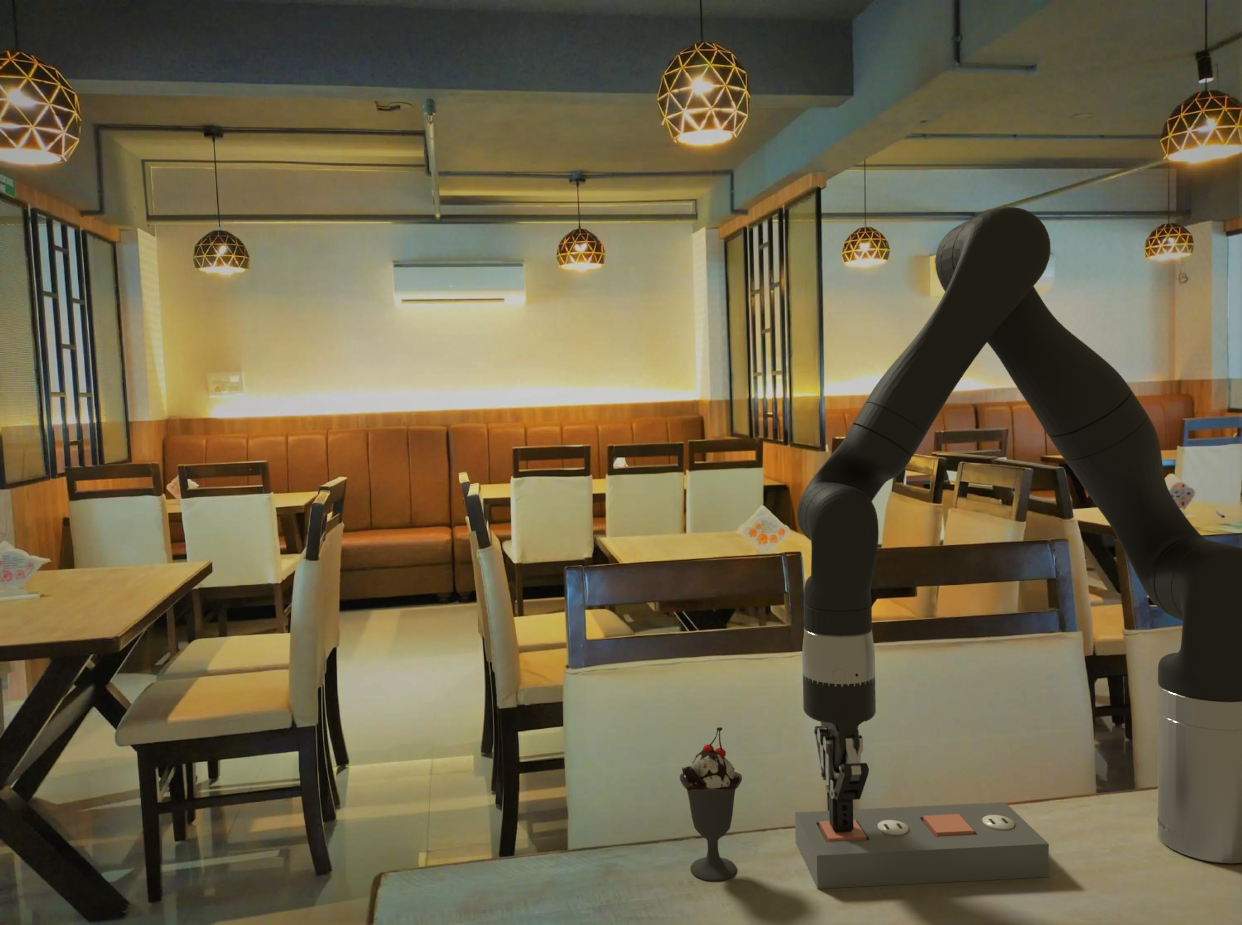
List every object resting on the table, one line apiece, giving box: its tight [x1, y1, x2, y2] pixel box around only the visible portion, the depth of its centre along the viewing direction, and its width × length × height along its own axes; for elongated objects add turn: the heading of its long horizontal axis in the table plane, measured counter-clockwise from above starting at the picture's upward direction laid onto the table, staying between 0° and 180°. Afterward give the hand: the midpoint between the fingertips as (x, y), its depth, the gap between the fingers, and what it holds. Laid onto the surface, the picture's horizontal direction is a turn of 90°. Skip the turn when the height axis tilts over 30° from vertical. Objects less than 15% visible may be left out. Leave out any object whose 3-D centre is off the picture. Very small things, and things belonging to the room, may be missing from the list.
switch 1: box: [819, 820, 866, 842], centre depth 99 cm, size 4×4×2 cm
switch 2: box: [923, 814, 974, 837], centre depth 99 cm, size 4×4×2 cm
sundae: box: [679, 726, 743, 882], centre depth 98 cm, size 7×7×15 cm
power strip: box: [794, 801, 1050, 890], centre depth 99 cm, size 24×10×4 cm, turn 92°
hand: (841, 829), depth 99 cm, fingers closed
